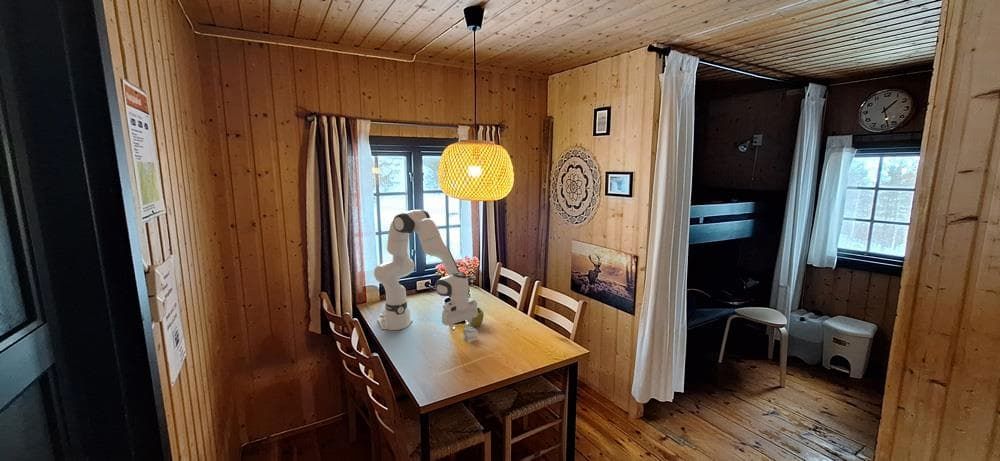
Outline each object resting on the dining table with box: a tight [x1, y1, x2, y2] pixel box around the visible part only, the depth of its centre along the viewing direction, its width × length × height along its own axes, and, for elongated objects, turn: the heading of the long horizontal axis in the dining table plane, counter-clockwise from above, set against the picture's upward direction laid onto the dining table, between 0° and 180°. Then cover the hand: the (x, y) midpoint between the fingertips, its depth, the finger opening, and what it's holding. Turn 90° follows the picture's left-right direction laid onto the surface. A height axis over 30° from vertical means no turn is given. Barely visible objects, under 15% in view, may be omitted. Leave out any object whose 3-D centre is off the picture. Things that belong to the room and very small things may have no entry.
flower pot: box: [466, 306, 485, 328], centre depth 228 cm, size 9×9×9 cm
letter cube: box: [462, 326, 478, 343], centre depth 211 cm, size 6×6×6 cm
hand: (460, 328), depth 206 cm, fingers open, 8 cm apart
